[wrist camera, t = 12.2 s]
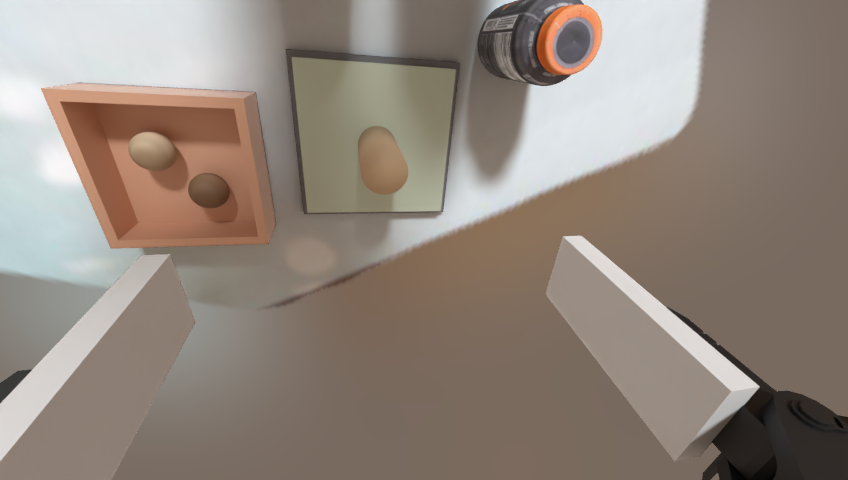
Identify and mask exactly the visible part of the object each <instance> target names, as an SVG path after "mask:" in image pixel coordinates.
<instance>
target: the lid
mask: <svg viewBox="0 0 848 480" xmlns="http://www.w3.org/2000/svg"><path fill="white" fill-rule="evenodd" d="M292 67H293V77H294V86H295V96H296V106H297V116H298V125H299V135H300V145H301V155H302V164H303V174H304V184H305V194H306V204H307V213H339V212H415V211H441V204H442V195H443V186H444V177H445V167H446V158H447V149H448V139H449V130H450V121H451V112H452V102H453V93H454V84H455V74H456V69H450V68H436V67H423V66H409V65H396V64H383V63H369V62H356V61H342V60H329V59H316V58H302V57H292Z"/></svg>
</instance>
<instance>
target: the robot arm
mask: <svg viewBox="0 0 848 480" xmlns="http://www.w3.org/2000/svg"><path fill="white" fill-rule="evenodd" d="M546 295H547V297H548V298H549V299H550V301H551V302H552V303H553V304H554V306H555V307H556V308H557V309H558V311H559V312H560V313H561V315H562V316H563V317H564V319H565V320H566V321H567V323H568V324H569V325H570V326H571V328H572V329H573V330H574V332H575V333H576V334H577V335H578V337H579V338H580V339H581V341H582V342H583V343H584V344H585V346H586V347H587V348H588V350H589V351H590V352H591V354H592V355H593V356H594V357H595V359H596V360H597V361H598V363H599V364H600V365H601V366H602V368H603V369H604V370H605V372H606V373H607V374H608V375H609V377H610V378H611V379H612V381H613V382H614V383H615V384H616V386H617V387H618V388H619V390H620V391H621V392H622V394H623V395H624V396H625V397H626V399H627V400H628V401H629V403H630V404H631V405H632V407H633V408H634V409H635V410H636V412H637V413H638V414H639V416H640V417H641V418H642V419H643V421H644V422H645V423H646V425H647V426H648V427H649V428H650V429H651V431H652V432H653V434H654V435H655V436H656V437H657V439H658V440H659V441H660V443H661V444H662V445H663V447H664V448H665V449H666V450H667V452H668V453H669V454H670V456H671V457H672V458H673V460H674V461H675V462H676V461H680V460H685V459H690V458H695V457H700V456H701V455H702V454H703V452H704V451H705V450H706V449H707V448H708V447H709V445H710V444H711V443H713V444H714V445H715V446H716V447H717V448H718V449H719V450H720V451H721V454H720V455H719V456H718V457H717V458H716V459H715V460H714V461H713V462H712V464H711V465H710V466H709V467H708V468H707V469H706V470H705V471H704V472H703V478H702V480H711V479H712V477H713V476H714V475H715V474H716V473H718V474H719V480H848V417H844V416H838V415H836V414H835V413H834V412H833V411H831V410H830V409H828V408H827V407H825V406H823V405H822V404H820V403H819V402H817V401H815V400H812V399H810V398H808V397H806V396H804V395H802V394H798V393H794V392H790V391H778V392H777V391H775V390H774V389H773V388H771V387H770V386H769V385H768V384H767V383H765V382H764V381H763V380H762V379H760V378H759V377H758V376H757V375H756V374H754V373H753V372H752V371H751V370H749V369H748V368H747V367H746V366H745V365H743V364H742V363H741V362H740V361H739V360H737V359H736V358H735V357H733V355H731V354H730V353H729V352H727V351H726V350H725V349H724V348H723V347H722V346H720V345H717V344H716V341H714V340H713V339H712V338H710V337H709V336H708V335H707V334H704V333H703V331H702V330H701V329H700V328H698V327H697V326H696V325H695V324H694V323H692V322H691V321H690V320H689V319H688V318H686V317H684V316H682V315H681V314H679V313H677V312H675V311H674V310H672V309H670V308H668V307H665V306H664V305H663V304H661V303H660V302H659V301H658V300H657V299H655V298H654V297H653V296H652V295H651V294H650V293H648V292H647V291H646V290H644V288H642V287H641V286H640V285H639V284H638V283H637V282H635V281H634V280H633V279H632V278H631V277H629V276H628V275H627V274H626V273H625V272H624V271H622V270H621V269H620V268H619V267H618V266H616V265H615V264H614V263H613V262H612V261H610V260H609V259H608V258H607V257H606V256H605V255H603V254H602V253H601V252H600V251H599V250H597V249H596V248H595V247H594V246H593V245H592V244H590V243H589V242H588V241H587V240H586V239H584V238H583V237H582V236H566V237H563V239H562V242H561V246H560V249H559V252H558V255H557V258H556V262H555V265H554V268H553V272H552V274H551V278H550V281H549V284H548V288H547V291H546ZM194 324H195V320H194V317H193V315H192V312H191V309H190V307H189V304H188V301H187V298H186V296H185V293H184V290H183V287H182V285H181V282H180V279H179V277H178V274H177V271H176V268H175V266H174V263H173V260H172V257H171V255H170V254H159V255H141V256H140V257H139V258H138V259H137V260H136V261H135V262H134V263H133V264H132V265H131V266H130V267H129V269H128V270H127V271H126V272H125V273H124V274H123V275H122V276H121V277H120V278H119V279H118V280H117V281H116V282H115V283H114V284H113V285H112V286H111V288H110V289H109V290H108V291H107V292H106V293H105V294H104V295H103V296H102V297H101V298H100V299H99V300H98V301H97V302H96V303H95V304H94V306H92V308H91V309H90V310H89V311H88V312H87V313H86V314H85V315H84V316H83V317H82V318H81V319H80V320H79V321H78V322H77V323H76V325H74V327H73V328H72V329H71V330H70V331H69V332H68V333H67V334H66V335H65V336H64V337H63V338H62V339H61V340H60V341H59V343H57V344H56V345H55V347H54V348H53V349H52V350H51V351H50V352H49V353H48V354H47V355H46V356H45V357H44V358H43V359H42V360H41V361H40V362H39V363H38V364H37V366H36V367H35V368H34V369H33V370H22V371H17V372H16V373H14V374H13V375H11V376H10V377H8V378H7V379H6V380H4V381H2V382H1V383H0V480H111V479H112V477H113V475H114V473H115V471H116V470H117V468H118V466H119V464H120V462H121V460H122V458H123V456H124V454H125V453H126V451H127V449H128V447H129V445H130V443H131V441H132V440H133V438H134V436H135V434H136V432H137V430H138V428H139V426H140V424H141V423H142V421H143V419H144V417H145V415H146V413H147V412H148V410H149V408H150V406H151V404H152V402H153V400H154V398H155V397H156V395H157V392H158V391H159V389H160V387H161V385H162V383H163V382H164V380H165V378H166V376H167V374H168V372H169V370H170V369H171V367H172V365H173V363H174V361H175V359H176V357H177V355H178V354H179V352H180V350H181V348H182V346H183V344H184V342H185V340H186V338H187V337H188V335H189V333H190V331H191V329H192V327H193V325H194Z"/></svg>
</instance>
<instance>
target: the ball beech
mask: <svg viewBox="0 0 848 480" xmlns="http://www.w3.org/2000/svg"><path fill="white" fill-rule="evenodd" d="M128 150H129V154H130V157H131V158H132V160H133V161H134V162H135V163H136V164H137V165H139V166H140V167H142V168H144V169H147V170H151V171H162V170H166V169H168V168H170V167H171V166H172V165H173V164H174V163H175V161H176V159H177V150H176V147H175V145H174V144H173V143H172V141H171V140H170V139H168V138H167V137H166V136H164V135H162V134H160V133H156V132H142V133H139V134H137V135H135V136H134V137H133V138H132V139H131V140H130V142H129V146H128Z"/></svg>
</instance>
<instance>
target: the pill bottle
mask: <svg viewBox="0 0 848 480" xmlns="http://www.w3.org/2000/svg"><path fill="white" fill-rule="evenodd" d="M601 40H602V25H601V20H600V18H599V16H598V14H597V13H596V12H595V11H594V10H593V9H592V8H591V7H589V6H586V5H584V4H583V3H582V1H581V0H519V1H514V2H512V3H508V4H505V5H502V6H500V7H499V8H497V9H495V10H494V11H493V12H492V13H491V14H490V15H489V16H488V17H487V18H486V20H485V21H484V23H483V25H482V27H481V30H480V33H479V38H478V52H479V56H480V59H481V62H482V64H483V65H484V67H485V68H486V69H487V70H488V71H489V72H490V73H492V74H493V75H495V76H498V77H500V78H505V79H510V80H515V81H519V82H524V83H529V84H534V85H539V86H549V85H554V84H557V83H559V82H561V81H563V80H565V79H566V78H568V77H569V76H570V75H572V74H574V73H577V72H579V71H581V70H583V69H584V68H585V67H587V66H588V65H589V64H590V63H591V61H592V60H593V59H594V57H595V56H596V54H597V52H598V50H599V47H600V44H601Z"/></svg>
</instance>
